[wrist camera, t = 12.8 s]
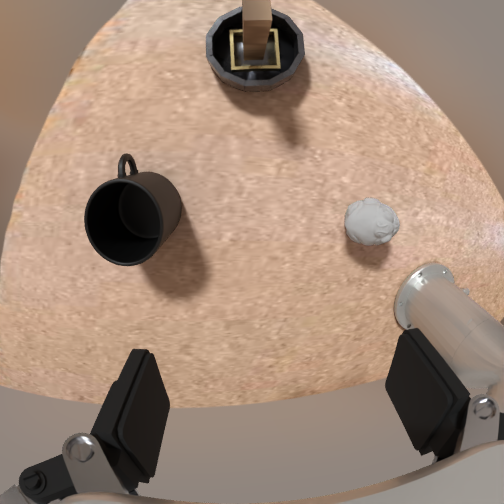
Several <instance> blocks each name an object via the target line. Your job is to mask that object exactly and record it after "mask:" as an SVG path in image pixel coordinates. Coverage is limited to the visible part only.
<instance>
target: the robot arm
mask: <svg viewBox="0 0 504 504" xmlns="http://www.w3.org/2000/svg"><path fill="white" fill-rule="evenodd" d="M468 295H469V289H468V288H463V289H461V288H459V287H458V286H457V285H455V284H454V277H453V275H452V272H451V271H450V270H449V269H448V268H447V267H446V266H444V265H443V264H440V263H436V262H433V263H427V264H424V265H422V266H420V267H418V268H417V269H416V270H414V271H413V272H412V273H411V274H410V275H409V276H408V277H407V278H406V279H405V281H404V282H403V283H402V285H401V287H400V289H399V290H398V293H397V295H396V299H395V303H394V313H395V317H396V319H397V321H398V322H399V324H400V325H401V326H402V327H403V328H405V329H406V330H404V331H403V333H402V334H401V335H400V336H399V339H398V343H397V347H396V350H395V354H394V357H393V360H392V364H391V367H390V370H389V373H388V376H387V380H386V383H385V388H386V391H387V393H388V395H389V397H390V399H391V401H392V403H393V405H394V407H395V409H396V411H397V413H398V415H399V417H400V419H401V421H402V423H403V425H404V427H405V429H406V431H407V433H408V436H409V437H410V440H411V442H412V444H413V446H414V448H415V449H416V450H419V452H420V454H421V455H424V454H427V453H429V452H432V451H433V452H434V454H435V456H434V459H433V462H432V464H431V465H429V466H426V467H424V468H421V469H419V470H416V471H413V472H411V473H408V474H405V475H402V476H399V477H397V478H393V479H390V480H387V481H384V482H381V483H378V484H374V485H371V486H366V487H363V488H358V489H355V490H350V491H346V492H341V493H337V494H331V495H326V496H320V497H314V498H307V499H300V500H292V501H282V502H269V503H251V504H504V326H503V325H502V324H501V323H500V322H499V321H498V320H496V319H495V318H494V317H493V316H492V315H491V314H489V313H488V312H487V311H486V310H485V309H484V308H482V307H481V306H480V305H479V304H478V303H476V302H475V301H474V300H473V299H472V298H470V297H469V296H468ZM465 387H468V388H488V391H487V393H486V394H485V395H484V394H480V395H476V396H475V397H473V398H472V399H471V398H470V397H469V395H470V393H469V392H468V390H467V389H466V388H465ZM169 409H170V402H169V398H168V395H167V393H166V390H165V387H164V384H163V381H162V378H161V375H160V372H159V369H158V366H157V363H156V360H155V357H154V354H152V353H150V352H149V351H148V350H147V349H132V351H131V353H130V355H129V357H128V359H127V361H126V363H125V365H124V367H123V369H122V372H121V374H120V376H119V378H118V380H117V381H115V382H114V383H113V384H112V386H111V388H110V390H109V392H108V394H107V397H106V399H105V401H104V403H103V405H102V408H101V410H100V412H99V414H98V417H97V419H96V421H95V423H94V426H93V428H92V430H91V433H90V434H87V433H77V434H74V435H72V436H70V437H69V438H68V439H67V440H66V441H65V442H64V444H63V447H62V454H61V455H58V456H56V457H54V458H51V459H49V460H46V461H44V462H41V463H39V464H36V465H34V466H31V467H29V468H27V469H25V470H24V471H23V472H22V473H21V475H20V477H19V486H16V485H13V486H12V487H10V488H9V489H8V490H7V491H5V492H4V493H3V494H1V495H0V504H217V503H197V502H185V501H174V500H165V499H158V498H151V497H144V496H141V495H140V494H139V492H138V491H137V489H136V488H137V487H138V483H139V482H143V483H149V479H150V477H154V475H155V471H156V466H157V462H158V457H159V452H160V447H161V443H162V439H163V434H164V430H165V426H166V421H167V417H168V413H169Z"/></svg>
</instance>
